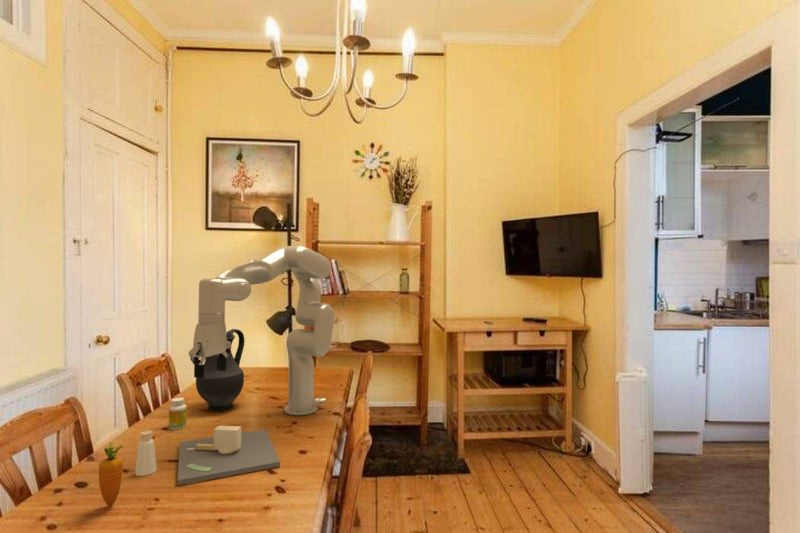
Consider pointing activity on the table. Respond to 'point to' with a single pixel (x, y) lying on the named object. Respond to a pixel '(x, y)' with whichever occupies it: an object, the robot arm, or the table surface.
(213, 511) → the table surface
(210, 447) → the cream handled block
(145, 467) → the pepper shaker
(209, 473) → the dial board
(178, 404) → the supplement bottle
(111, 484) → the carrot
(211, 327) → the robot arm
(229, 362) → the pitcher
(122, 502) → the table surface
